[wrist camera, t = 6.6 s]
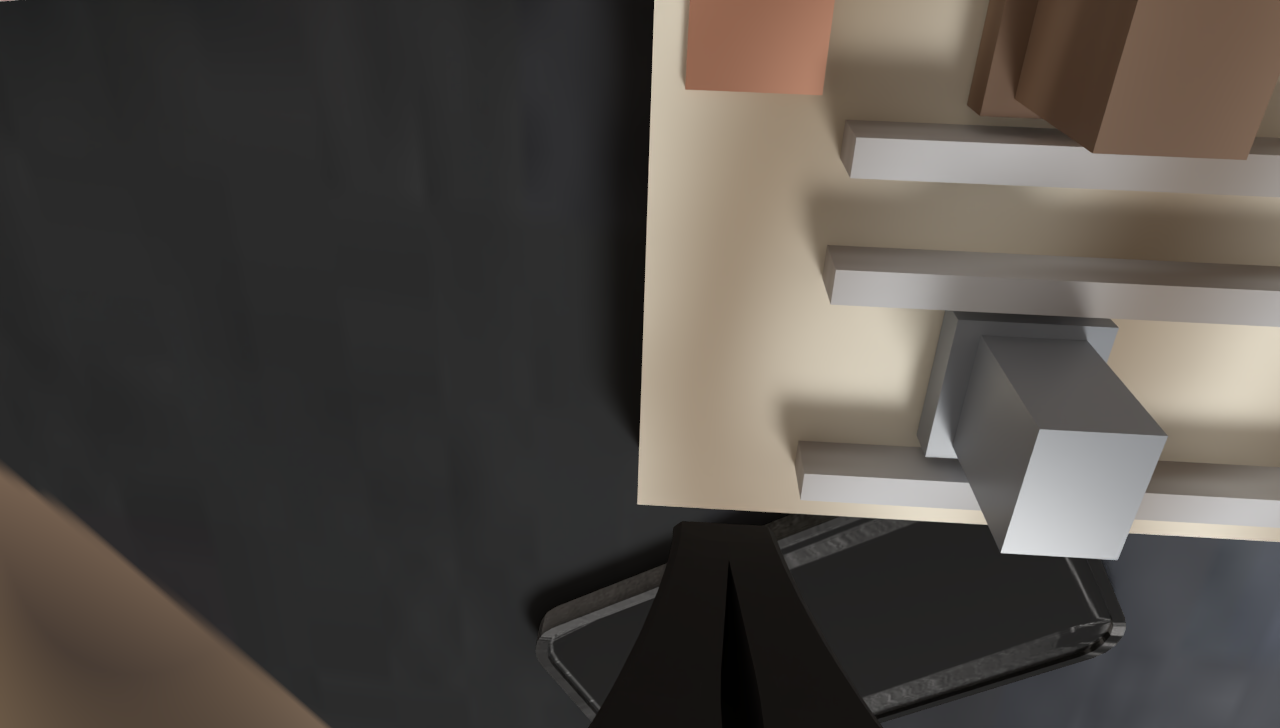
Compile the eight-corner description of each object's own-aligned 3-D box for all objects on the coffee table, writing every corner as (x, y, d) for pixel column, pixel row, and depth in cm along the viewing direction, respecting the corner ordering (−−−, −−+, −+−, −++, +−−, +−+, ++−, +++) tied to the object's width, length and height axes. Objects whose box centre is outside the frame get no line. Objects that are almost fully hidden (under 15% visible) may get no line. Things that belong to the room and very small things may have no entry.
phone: (1136, 644, 23) (654, 793, 27) (1117, 613, 24) (655, 761, 28) (1047, 432, 20) (517, 639, 24) (1030, 406, 21) (523, 609, 25)
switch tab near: (1206, -96, 13) (1387, -88, 10) (1140, 112, 15) (1276, 183, 11) (1011, -103, 13) (1122, -95, 10) (967, 105, 15) (1048, 173, 11)
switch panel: (1934, -248, 13) (2255, -281, 11) (1454, 499, 21) (1570, 595, 18) (668, -280, 14) (661, -320, 11) (641, 453, 22) (634, 539, 19)
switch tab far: (1101, 309, 17) (1207, 422, 13) (1057, 442, 18) (1141, 574, 15) (947, 301, 17) (1012, 411, 13) (916, 435, 18) (968, 564, 15)
